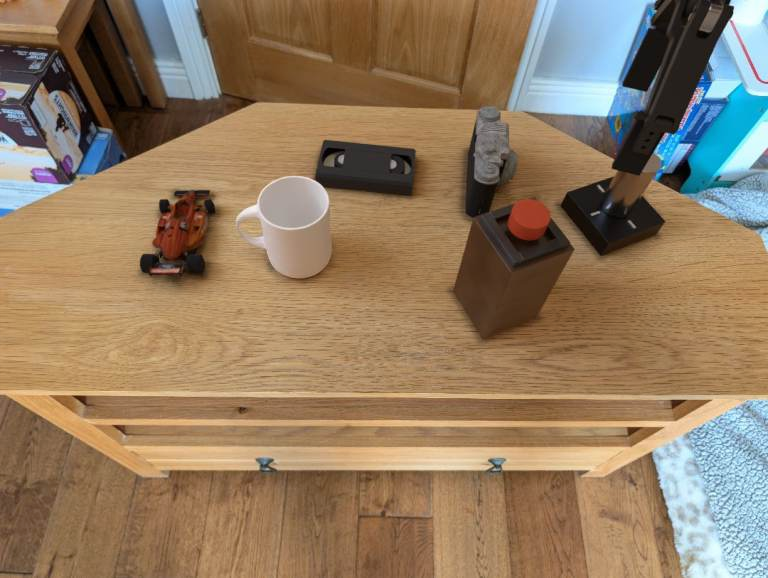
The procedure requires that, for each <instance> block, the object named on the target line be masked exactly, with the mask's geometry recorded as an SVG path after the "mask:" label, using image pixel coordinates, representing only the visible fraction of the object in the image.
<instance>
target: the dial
mask: <svg viewBox="0 0 768 578" xmlns="http://www.w3.org/2000/svg"><path fill="white" fill-rule="evenodd" d="M661 165H662V161H661V159H660V158H659V156H658V155H657V154H656V153H655V152H653V154H652V156H651V157H650V159H649V161H648V162H647V164H646V166H645V167H644V169H643V171H642V172H641V174H640V176H638V175H634V174H630V173H626V172H622V171H618V170H616V173H615V174H614V175H613V176H614V178H613V180H612V181H611V183H610V185H609V187H608V189H607V190H606V192H605V194H604V196H603V198H602V199H601V207H602V209H603V210H604V212H606V213H607V214H608V215H610V216H612V217H615V218H624V217H627V216H629V215H630V214H631V212H632V210H633V209H634V207H635V206H636V204H637V203H638V201H639V200H640V198H641V196H644V195H643V194H645V192H646V190H647V188H648V187H649V185H650V184H651V182H652V181H653V179H654V178H655V176H656V175H657V173H658V171H659V170H660V168H661V167H662V166H661Z"/></svg>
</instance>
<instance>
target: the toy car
mask: <svg viewBox="0 0 768 578" xmlns="http://www.w3.org/2000/svg"><path fill="white" fill-rule="evenodd" d="M210 193H211V190H210V189H197V190H194V189H191V190H175V192H174V193H173V196H174V197H180V196H181V197H180V198H179V199H178V200H176V201H175V203H174V204H173V205H172V204H171V203H170V200H169V199H168V198H163V199H161V198H160V199H159V201H158V208H159V212H160V214H161V215H160V217H159V218H158V222H157V226H156V229H155V238H154V239H153V240H152V242H151V245H152V247H154V248H159V249H160V251H159V253H156V252H155V253H143V254H142V255H141V256H140V259H139V267H140V270H141V272H142V273H143V274H148V275H149V276H150V277H151V276H152V275H168V276H176V275H179V276H180V277H182V275H183V273H184V269H186V270H187V273H188V274H189V275H203V273H204V272H205V268H206V261H205V258H204V256H203V254H197V251H198V248H199V246H201V245H203V244H204V243H205V241H206V239H207V237H206V236H207V235H206V233H207V228H208V224H209V223H208V222H209V218H208V215H213V214H216V212H217V209H216V205H215V202H214V201H213V199H212V198H206V199H204V201H203V205H201V204H196V196H200V197H201V196H209V195H210ZM203 207H205V209H206V211H207V213H206V212H203V211H200V210H201V209H202V208H203ZM207 214H208V215H207ZM163 256H164V258H166V259H167V260H169V261H167V262H164V263H162V262H160V261H161V260H160V259H162V257H163ZM184 256H185V258H186V262H185V259H182V258H183V257H184Z"/></svg>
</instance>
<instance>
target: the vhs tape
mask: <svg viewBox="0 0 768 578" xmlns="http://www.w3.org/2000/svg"><path fill="white" fill-rule="evenodd" d="M416 153H417V151H416V149H415V148H410V147H400V146H392V145H391V146H390V145H381V144H371V143H361V142H352V141H340V140H333V139H324V140H323V141H322V145H321V149H320V153H319V158H318V163H317V168H316V170H315V175H314V180H315V181H316V182H318V183H319V184H321V185H322V186H323V187H324V188H331V189H340V190H349V191H350V190H351V191H360V192H363V191H364V192H368V193H370V192H371V193H378V194H379V193H380V194H388V195H389V194H390V195H399V196H407V197H412V194H413V186H414V177H415V176H414V174H415V163H416Z"/></svg>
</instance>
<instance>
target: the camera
mask: <svg viewBox="0 0 768 578" xmlns="http://www.w3.org/2000/svg"><path fill="white" fill-rule="evenodd" d="M501 114H502V113H501V111H500V110H499V109H498V108H497V107H496V106H494V105H485V106H482V107H480V108H478V109H477V112H476V118H475V122H474V127H473V130H472V135H471V139H470V143H469V148H468V150H467V162H466V163H467V165H466V181H465V182H466V184H465V185H466V187H465V203H464V204H465V205H464V206H465V207H464V209H465V210H464V214H465V215H466V216H467V217H468V218H471V219H473V218H474V217H477V216H480V215H482V214H485V213H488V212H491V211H490V210H491V208H492V205H493V201H494V199H495V198H494V197H495V195H496V192H497V188H499V186H500V185H505V184H506V183H509V182H510V181H513V180H514V179H515V176H516V173H517V168H518V161H519V155H518V152H516V151H515V150H514V149H512V148H511V146H510V124H509V123H507V122H502V118H501V116H502V115H501Z"/></svg>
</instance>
